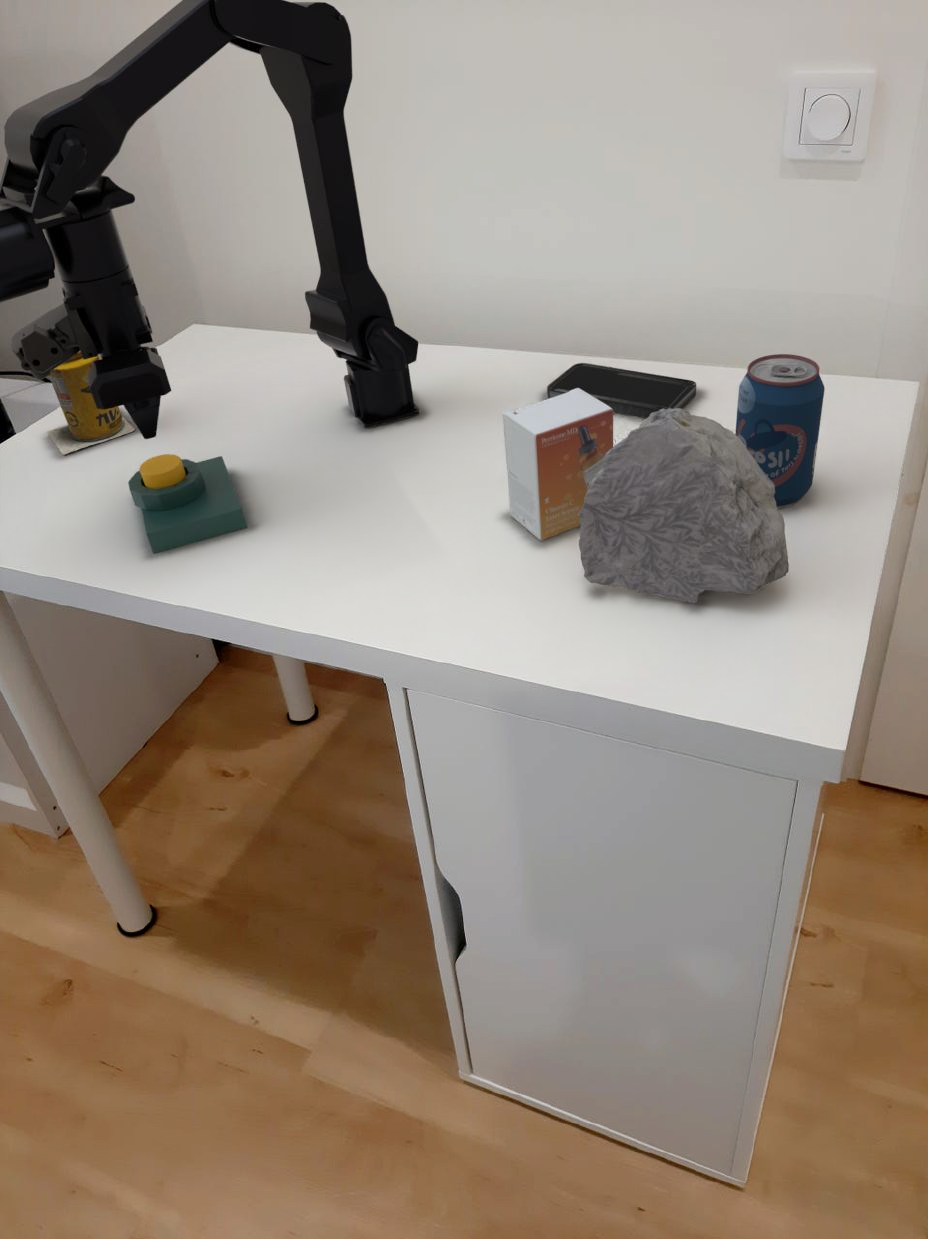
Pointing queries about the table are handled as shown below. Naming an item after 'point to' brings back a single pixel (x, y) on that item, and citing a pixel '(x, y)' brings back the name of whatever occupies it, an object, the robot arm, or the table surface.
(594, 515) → the decorative rock
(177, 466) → the cylinder
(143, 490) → the teal square base
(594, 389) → the phone
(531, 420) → the small box
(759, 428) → the soda can
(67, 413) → the condiment
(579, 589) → the table surface
